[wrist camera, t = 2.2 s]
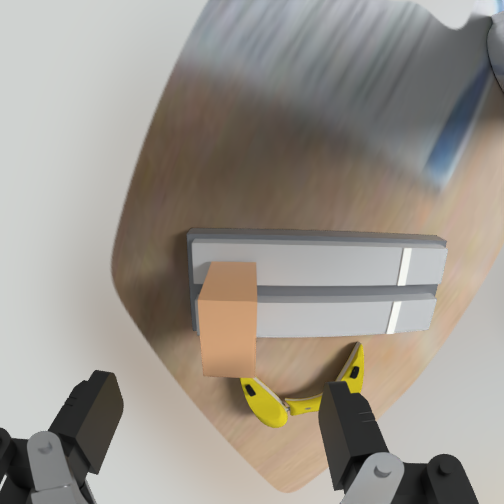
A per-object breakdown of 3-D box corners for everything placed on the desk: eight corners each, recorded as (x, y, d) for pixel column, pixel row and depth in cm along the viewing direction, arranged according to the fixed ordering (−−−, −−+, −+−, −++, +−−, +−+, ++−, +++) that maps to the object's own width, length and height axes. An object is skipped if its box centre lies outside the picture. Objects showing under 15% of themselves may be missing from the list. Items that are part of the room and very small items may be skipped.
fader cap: (215, 317, 20) (203, 376, 15) (213, 255, 19) (197, 300, 13) (254, 318, 20) (254, 377, 15) (256, 256, 19) (257, 301, 13)
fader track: (196, 320, 22) (190, 339, 20) (191, 228, 20) (182, 238, 18) (418, 317, 22) (432, 333, 20) (436, 235, 20) (454, 245, 18)
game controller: (252, 419, 25) (249, 438, 21) (240, 356, 25) (235, 368, 22) (360, 400, 24) (370, 416, 21) (354, 336, 25) (365, 345, 21)
